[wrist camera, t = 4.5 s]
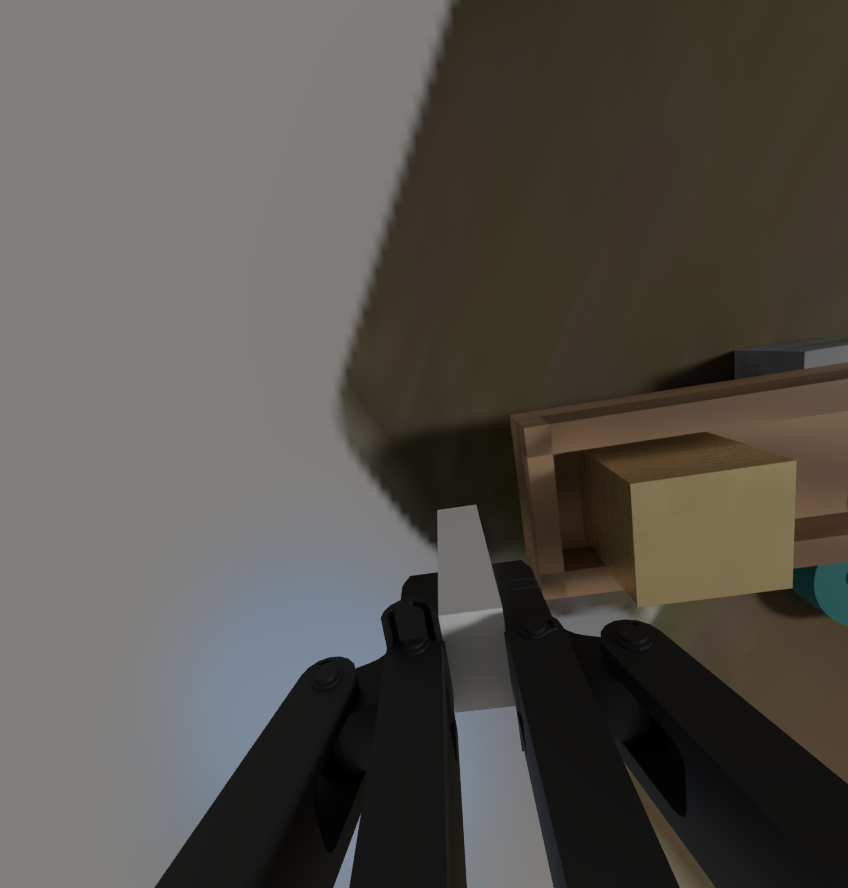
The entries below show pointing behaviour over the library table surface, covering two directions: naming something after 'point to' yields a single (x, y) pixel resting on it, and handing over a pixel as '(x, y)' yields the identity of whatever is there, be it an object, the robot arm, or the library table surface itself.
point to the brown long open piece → (686, 412)
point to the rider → (690, 517)
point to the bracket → (824, 588)
